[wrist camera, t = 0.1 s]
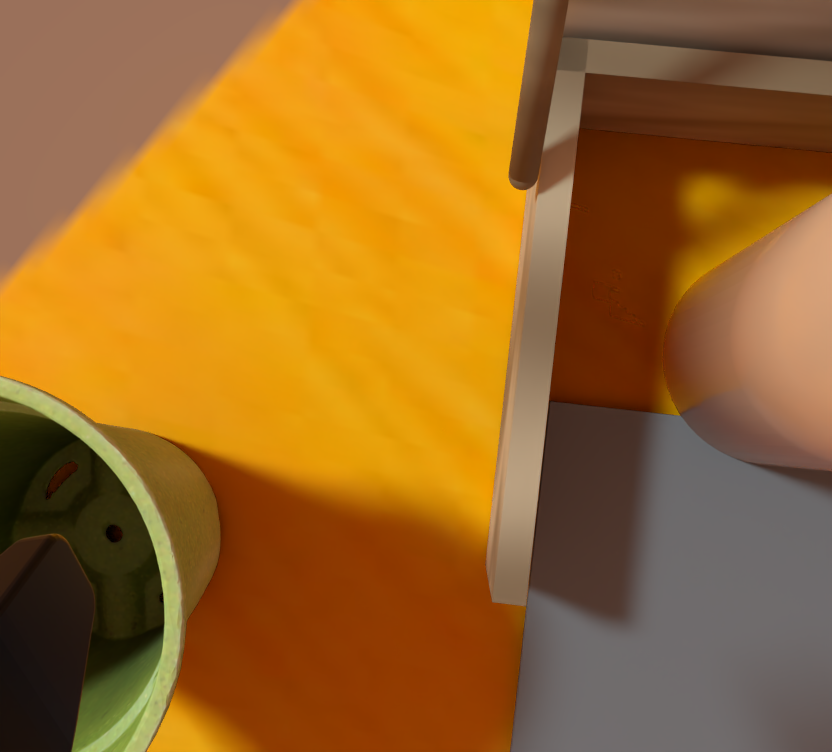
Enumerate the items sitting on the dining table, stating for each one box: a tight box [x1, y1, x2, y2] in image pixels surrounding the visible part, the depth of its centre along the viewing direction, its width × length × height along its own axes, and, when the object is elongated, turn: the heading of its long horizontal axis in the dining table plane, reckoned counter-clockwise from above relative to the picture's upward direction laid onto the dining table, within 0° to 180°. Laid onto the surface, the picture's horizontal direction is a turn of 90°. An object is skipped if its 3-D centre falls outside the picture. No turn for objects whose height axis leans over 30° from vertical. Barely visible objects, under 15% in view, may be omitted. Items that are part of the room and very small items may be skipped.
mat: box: [510, 401, 832, 752], centre depth 23 cm, size 12×12×1 cm
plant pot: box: [0, 376, 221, 752], centre depth 19 cm, size 9×9×9 cm
